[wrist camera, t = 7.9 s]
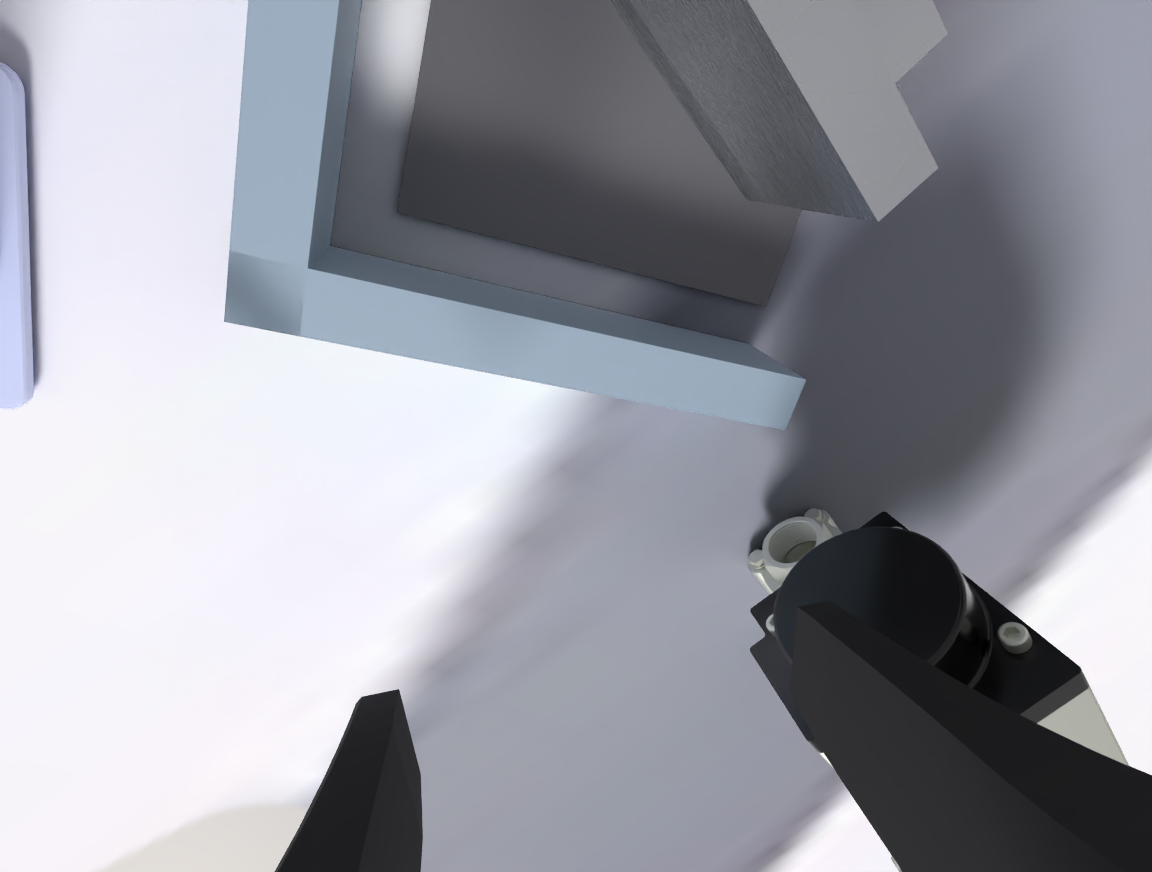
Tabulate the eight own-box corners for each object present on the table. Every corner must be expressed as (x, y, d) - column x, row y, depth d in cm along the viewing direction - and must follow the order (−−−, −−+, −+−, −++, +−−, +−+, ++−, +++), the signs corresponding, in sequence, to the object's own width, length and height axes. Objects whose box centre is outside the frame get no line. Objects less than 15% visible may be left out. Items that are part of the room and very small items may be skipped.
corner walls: (262, 289, 17) (224, 321, 14) (339, -523, 12) (307, -767, 9) (732, 388, 21) (785, 430, 18) (943, -185, 16) (1071, -268, 13)
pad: (397, 211, 17) (397, 212, 17) (498, -415, 13) (499, -424, 12) (762, 305, 20) (765, 306, 20) (939, -173, 16) (944, -176, 16)
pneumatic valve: (778, 412, 22) (1122, 674, 11) (909, 608, 27) (1230, 917, 16) (648, 513, 22) (853, 855, 11) (800, 686, 27) (1040, 1035, 17)
